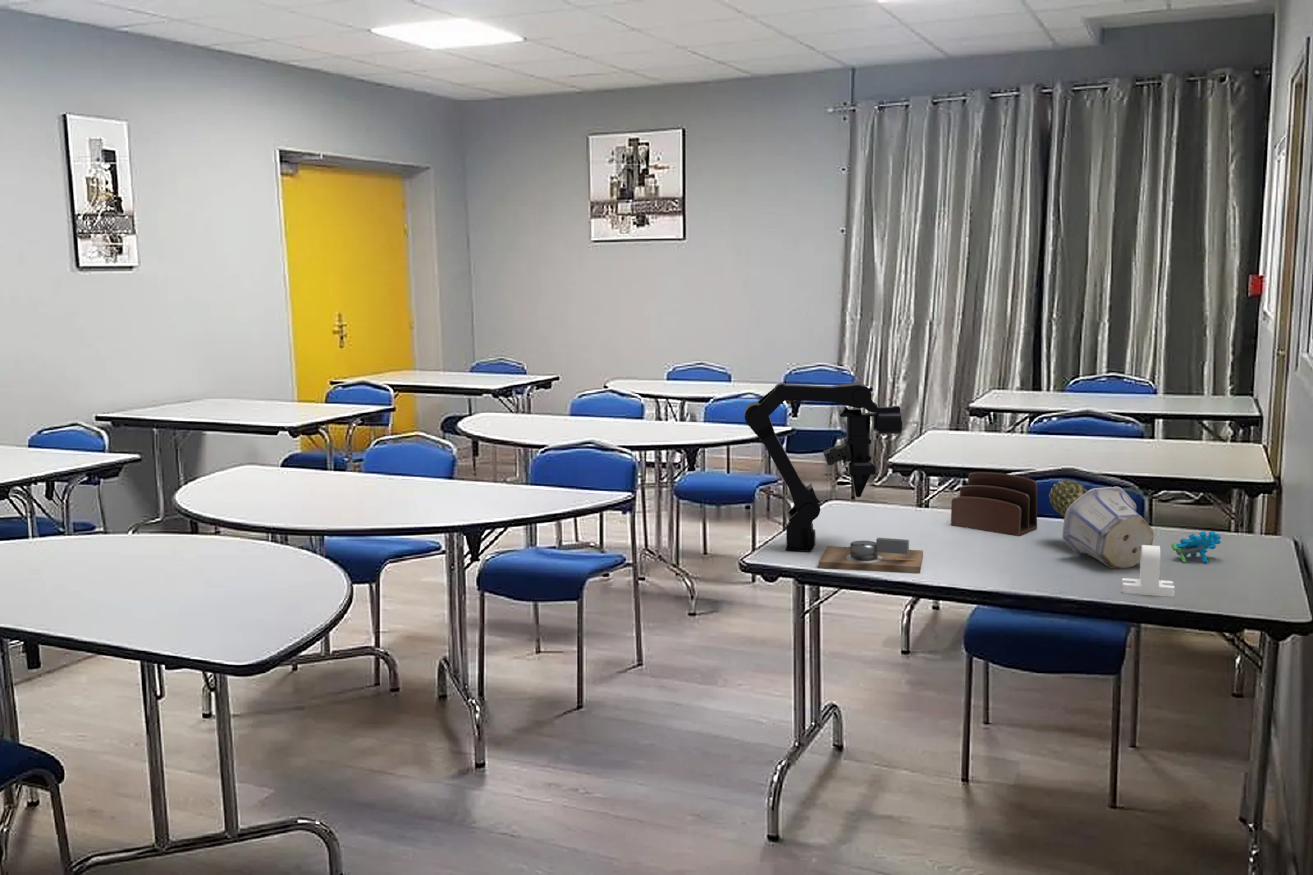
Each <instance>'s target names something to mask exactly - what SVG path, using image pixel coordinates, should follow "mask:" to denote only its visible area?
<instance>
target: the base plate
mask: <svg viewBox="0 0 1313 875" xmlns="http://www.w3.org/2000/svg"><path fill="white" fill-rule="evenodd" d="M923 558H924V549H909V553H908V554H896V553H883V552H878V558H876V559H871V560H859V559H854V558H852V557H851V556H850V546H836V545H833V546H832V545H826V547H825V549H824V550H823V552H822V554H821V556H820V558H819V560H818V568H819V569H829V570H830V569H832V570H847V571H848V570H849V571H850V570H852V571H853V570H854V571H871V572H874V571H875V572H891V573H893V572H894V573H906V572H911V573H910V574H920V573H921V570H922V565H923V560H924V559H923Z"/></svg>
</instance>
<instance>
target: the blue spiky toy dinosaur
mask: <svg viewBox="0 0 1313 875" xmlns="http://www.w3.org/2000/svg"><path fill="white" fill-rule="evenodd" d="M1198 534H1199V535H1198V536H1197V535H1196V534H1195V533H1190V535H1188V538H1181V539H1180V540H1179V542H1180V543H1172V544H1170V545H1171V548H1172V551H1175V552H1176V555H1177V556H1180V559H1181V561H1182V563H1183V564H1185V563H1187V559H1186V558H1185V557H1186V556H1188V555H1189V554H1190V555H1191V556H1190V557H1195V556H1197V555H1198V553H1199V555H1200V557H1201V559H1202V562H1203V564H1208V563H1209V560H1208V558H1207V555H1206V553H1207V552H1208V550H1215V549H1216V547H1217V545H1220V544H1221V540H1220V539H1222V536H1221V535H1220V534H1219V533H1216V531H1209V532H1208V535H1207V533H1206V531H1204V530H1203V531H1200V532H1199V533H1198Z"/></svg>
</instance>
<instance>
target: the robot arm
mask: <svg viewBox="0 0 1313 875" xmlns="http://www.w3.org/2000/svg"><path fill="white" fill-rule="evenodd" d="M785 401H804V402H805V401H806V402H823V403H824V402H826V403H827V402H829V403H835V404H838V405H843V406H844V407H843V408H842V409H841V410H840V411H839V412H838V416H839V417H840V418H846V437H845V438H844V440H843V443H842V444H839V445H836V446H832V447H830V448H827V449H825V450H823V451H822V453H823V456H824V459H825V462H826V464H827V466H832V465H834V464H836V463H838V462H842V464H846V463H847V466H845V467H844V469H845V470H846V472H847V473H848V475H849V476H851V480H852V485H853V489H854V490H853V491H854V494H855V497H856V498H861V497H862V494H863V492H864V490H865V487H866V485H867V483H868V481H869V479H870V477H871V476H872V475H876V465H875V464H874V463H873V461H872V455H871V444H872V439H871V427H872V430H873V431H876V433H877V435H900V434H902V432H903V420H902V414H901V407H900V406H899V405H892V406H878V404H877V403H876V402H874V401H873V400H872V392H871V390H870V388H869V387H868V386H867V385H866V384H864V383H863V382H859V381H858V382H848V383H841V384H837V385H819V384H818V385H817V384H816V385H815V384H794V383H793V384H792V383H791V384H790V383H785V382H779V383H777V384H776V385H775V386H774V387H773V388H772V389H771V390H770V391H769V392H768V393H766V394H765V395H763V397H761V398H760V399H759V400H758V401H753V402H750V403H749V404H748V405H747V406H746V408H745V410H744V413H743V414H744V421H745V423H746V424H747V426H748V427H749V428H750V429H751V431H753V432H754V433H753V434H755V435H756V436H757V437H758V439H759V440H760V441H762V443H763V445H764V447H765V448H766V450H767V452H768V454H769V455H770V458H771V459H772V461H773V463H774V464H775V466H776V469H777V470H778V471H779V474H780V475H781V478H783V481H784V482H785V484H786V486H787V488H788V490H789V493H790V495H791V498H792V501H793V504H794V506H792V507H791V509H789V510H788V511H787V513H786V514H787V519H788V522H787V523H786V525H785V527H786V529H785V530H786V531H785V532H786V535H785V536H786V538H785V539H786V546H785V548H784V550H785V551H787V550H790V552H810V553H811V552H812V551H813V549H814V548H815V546H816V529H815V528H814V523H813V521H814V520H816V519H817V518H818V517H819V516H820V513H821V506H820V503H821V499H820V496H819V495H818V494H816V492H815V491H814V488H813V485H812V483H809V484H808V485H806V484H805V483H804V481H802V479H801V477H800V475H799V473H798V471H797V470H796V468H795V467H794V464H793V462H792V461H791V460H790V457H789V456H788V454H787V452H786V451H785V448H784V447H783V445H782V443H781V442H780V440H779V438H778V435H777V434H776V433H775V429H774V427H773V423H772V420H771V418H770V415H771V414H773V413H774V412H775V411H776V410H777V408H779V407H780V406H781V404H783V402H785ZM848 407H851V408H853V409H849V408H848ZM863 408H864V409H865V410H866V411H868V412H862V410H861V409H863ZM871 417H872V418H871ZM871 425H872V426H871Z"/></svg>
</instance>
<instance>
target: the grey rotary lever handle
mask: <svg viewBox="0 0 1313 875" xmlns="http://www.w3.org/2000/svg"><path fill="white" fill-rule="evenodd" d="M849 547H850V556H851V557H852V558H854V559H859V560H871V559H876V558H878V552H883V553H896V554H908V553H909V550H910V539H903V538H902V539H901V538H889V537H877V538H876V541H874V540H873V541H872V540H853V541H851V542H850V546H849Z"/></svg>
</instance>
